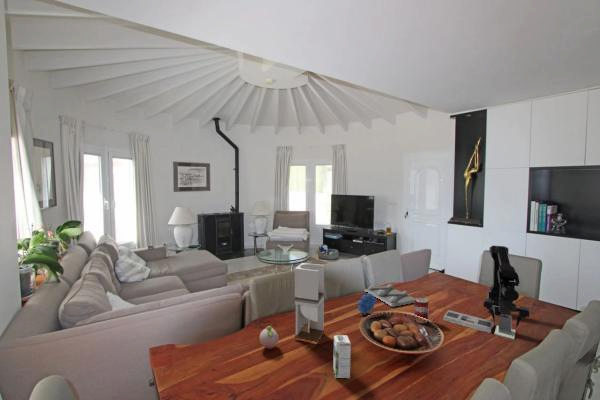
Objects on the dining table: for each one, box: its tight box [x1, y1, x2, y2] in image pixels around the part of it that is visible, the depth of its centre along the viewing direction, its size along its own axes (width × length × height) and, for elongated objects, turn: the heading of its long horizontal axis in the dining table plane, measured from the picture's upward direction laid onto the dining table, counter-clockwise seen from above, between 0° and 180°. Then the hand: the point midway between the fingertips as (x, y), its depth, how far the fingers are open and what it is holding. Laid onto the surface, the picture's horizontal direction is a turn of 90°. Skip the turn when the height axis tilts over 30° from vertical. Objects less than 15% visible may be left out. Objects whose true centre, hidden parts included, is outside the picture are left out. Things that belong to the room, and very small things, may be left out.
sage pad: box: [493, 324, 516, 341], centre depth 146 cm, size 11×8×1 cm
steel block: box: [498, 313, 513, 335], centre depth 145 cm, size 5×5×8 cm
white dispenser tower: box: [294, 262, 325, 342], centre depth 140 cm, size 11×11×35 cm
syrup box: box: [332, 334, 352, 379], centre depth 113 cm, size 6×6×14 cm
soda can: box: [413, 297, 430, 320], centre depth 157 cm, size 7×7×12 cm
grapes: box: [357, 293, 377, 314], centre depth 168 cm, size 12×7×12 cm, turn 109°
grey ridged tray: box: [363, 283, 416, 308], centre depth 192 cm, size 30×22×7 cm
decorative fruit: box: [259, 325, 279, 350], centre depth 131 cm, size 9×8×10 cm
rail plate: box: [442, 309, 494, 334], centre depth 156 cm, size 11×22×2 cm, turn 50°
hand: (505, 323), depth 145 cm, fingers open, 9 cm apart
